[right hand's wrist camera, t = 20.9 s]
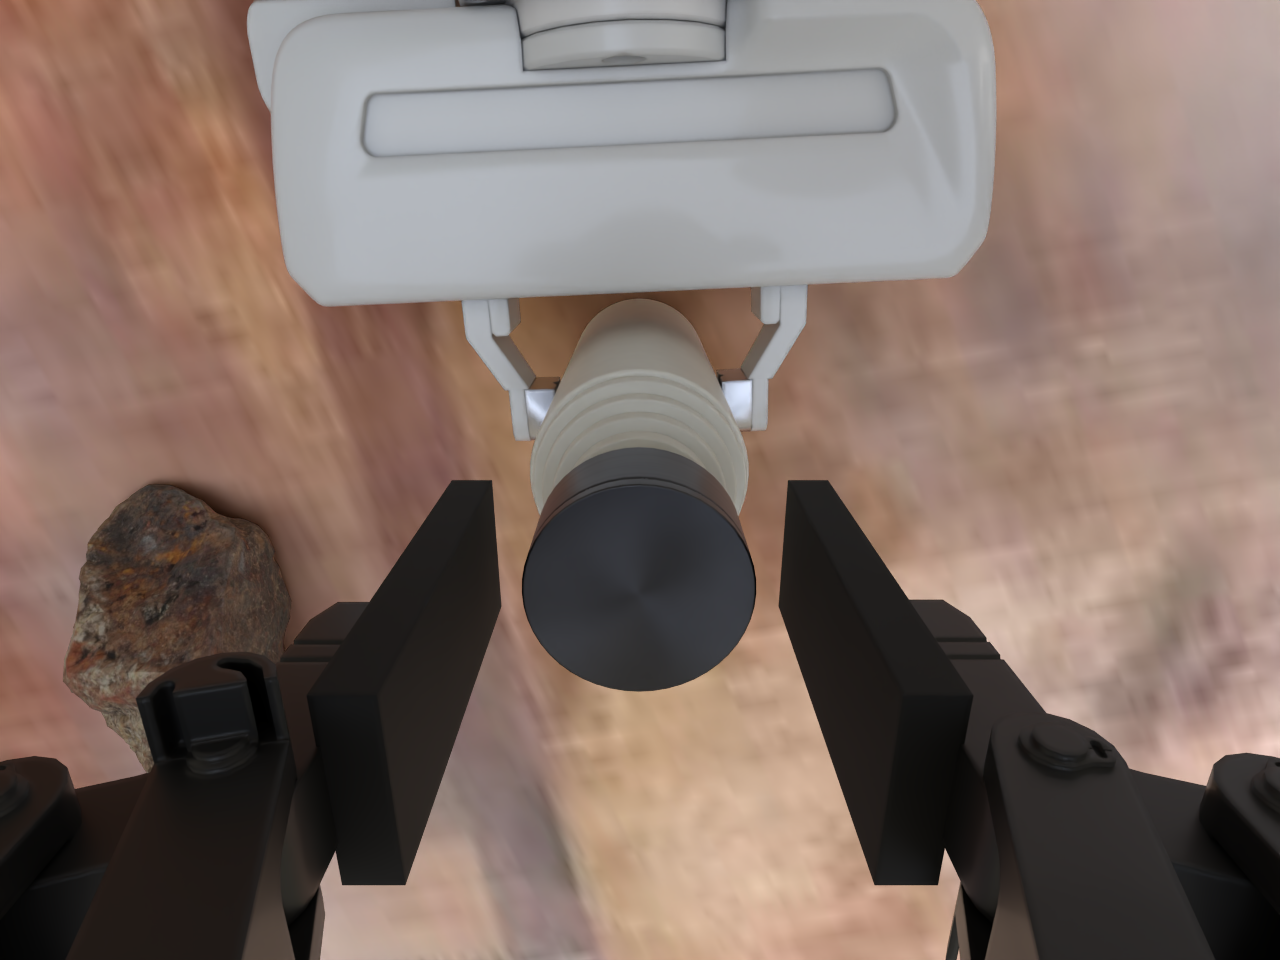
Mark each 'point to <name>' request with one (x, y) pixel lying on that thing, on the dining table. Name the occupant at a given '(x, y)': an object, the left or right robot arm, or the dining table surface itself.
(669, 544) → the cap
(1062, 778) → the right robot arm
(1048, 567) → the dining table surface
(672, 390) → the bottle
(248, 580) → the rock
